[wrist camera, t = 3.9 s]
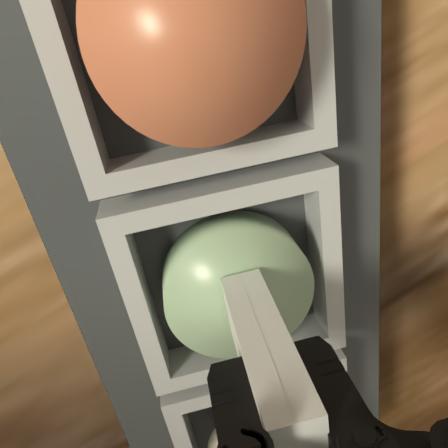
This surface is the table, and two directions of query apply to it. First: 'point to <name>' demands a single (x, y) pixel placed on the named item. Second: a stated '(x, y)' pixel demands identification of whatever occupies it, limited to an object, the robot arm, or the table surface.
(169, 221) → the button panel
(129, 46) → the terracotta button
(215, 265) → the sage button
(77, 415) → the table surface
